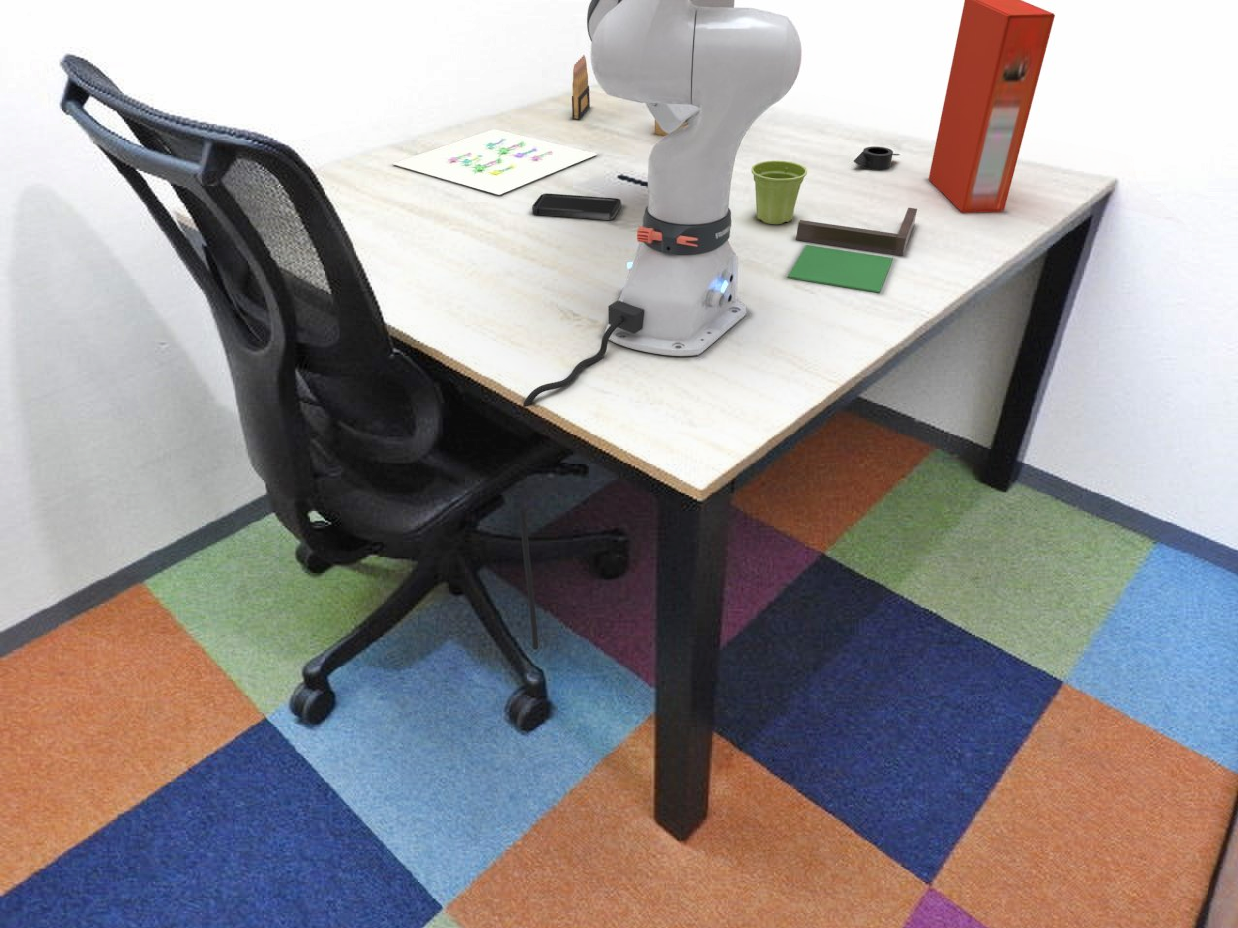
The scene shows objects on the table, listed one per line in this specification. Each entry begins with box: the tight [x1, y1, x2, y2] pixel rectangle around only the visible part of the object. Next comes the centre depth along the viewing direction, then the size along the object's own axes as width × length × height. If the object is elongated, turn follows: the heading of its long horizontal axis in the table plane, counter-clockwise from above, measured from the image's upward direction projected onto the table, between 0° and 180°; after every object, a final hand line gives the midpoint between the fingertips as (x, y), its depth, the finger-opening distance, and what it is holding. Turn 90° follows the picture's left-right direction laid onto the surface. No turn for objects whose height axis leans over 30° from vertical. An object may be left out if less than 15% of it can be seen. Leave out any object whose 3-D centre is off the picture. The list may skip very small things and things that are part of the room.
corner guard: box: [795, 207, 918, 257], centre depth 147 cm, size 14×18×3 cm
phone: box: [531, 192, 622, 221], centre depth 156 cm, size 8×1×15 cm
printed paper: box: [392, 128, 598, 196], centre depth 178 cm, size 30×30×2 cm
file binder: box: [928, 0, 1056, 214], centre depth 152 cm, size 8×17×32 cm, turn 3°
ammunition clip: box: [571, 54, 591, 121], centre depth 203 cm, size 11×2×12 cm, turn 169°
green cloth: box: [787, 244, 893, 294], centre depth 136 cm, size 13×14×1 cm
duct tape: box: [853, 146, 901, 171], centre depth 175 cm, size 8×10×3 cm
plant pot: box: [751, 160, 808, 225], centre depth 151 cm, size 9×9×9 cm
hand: (713, 136), depth 150 cm, fingers closed
